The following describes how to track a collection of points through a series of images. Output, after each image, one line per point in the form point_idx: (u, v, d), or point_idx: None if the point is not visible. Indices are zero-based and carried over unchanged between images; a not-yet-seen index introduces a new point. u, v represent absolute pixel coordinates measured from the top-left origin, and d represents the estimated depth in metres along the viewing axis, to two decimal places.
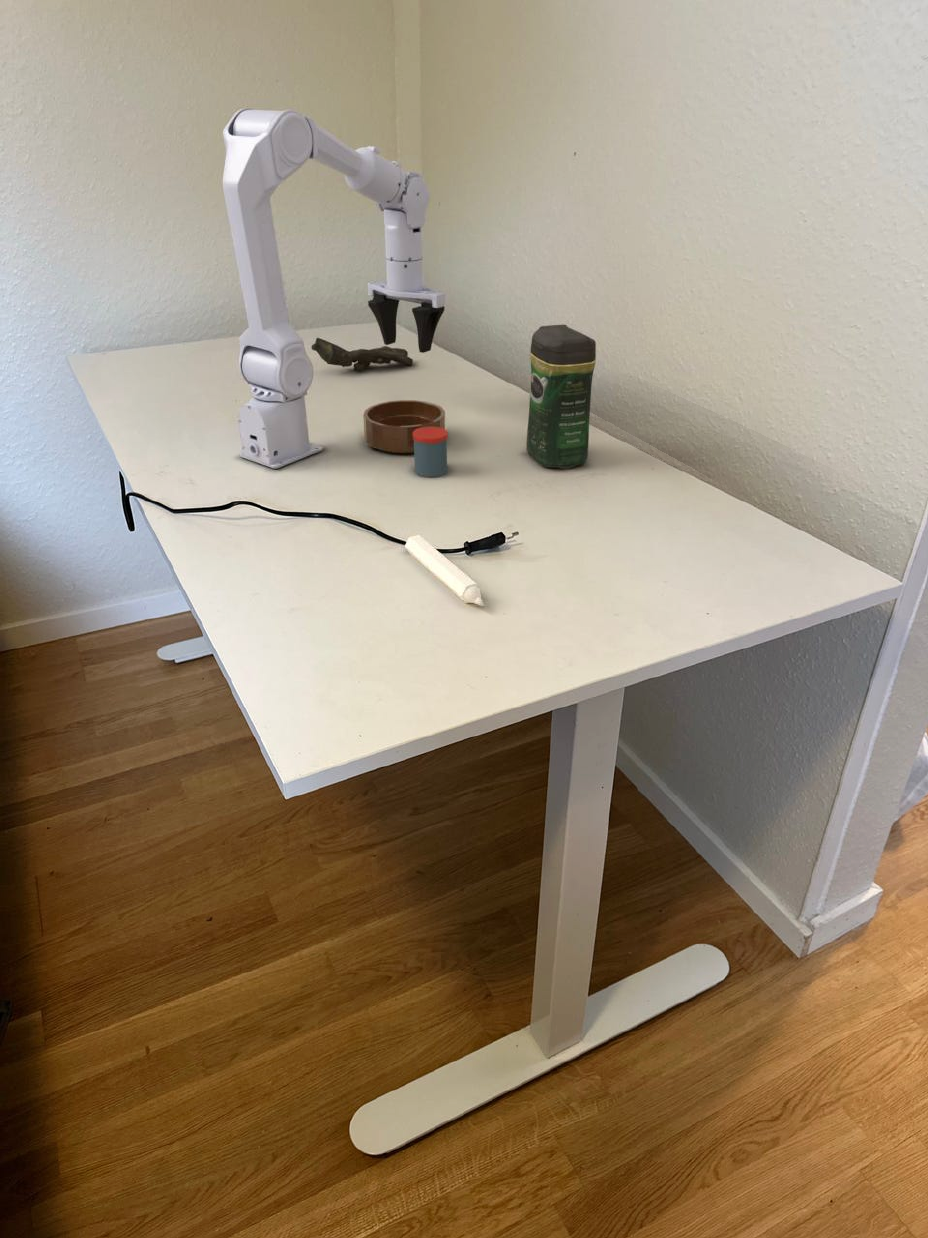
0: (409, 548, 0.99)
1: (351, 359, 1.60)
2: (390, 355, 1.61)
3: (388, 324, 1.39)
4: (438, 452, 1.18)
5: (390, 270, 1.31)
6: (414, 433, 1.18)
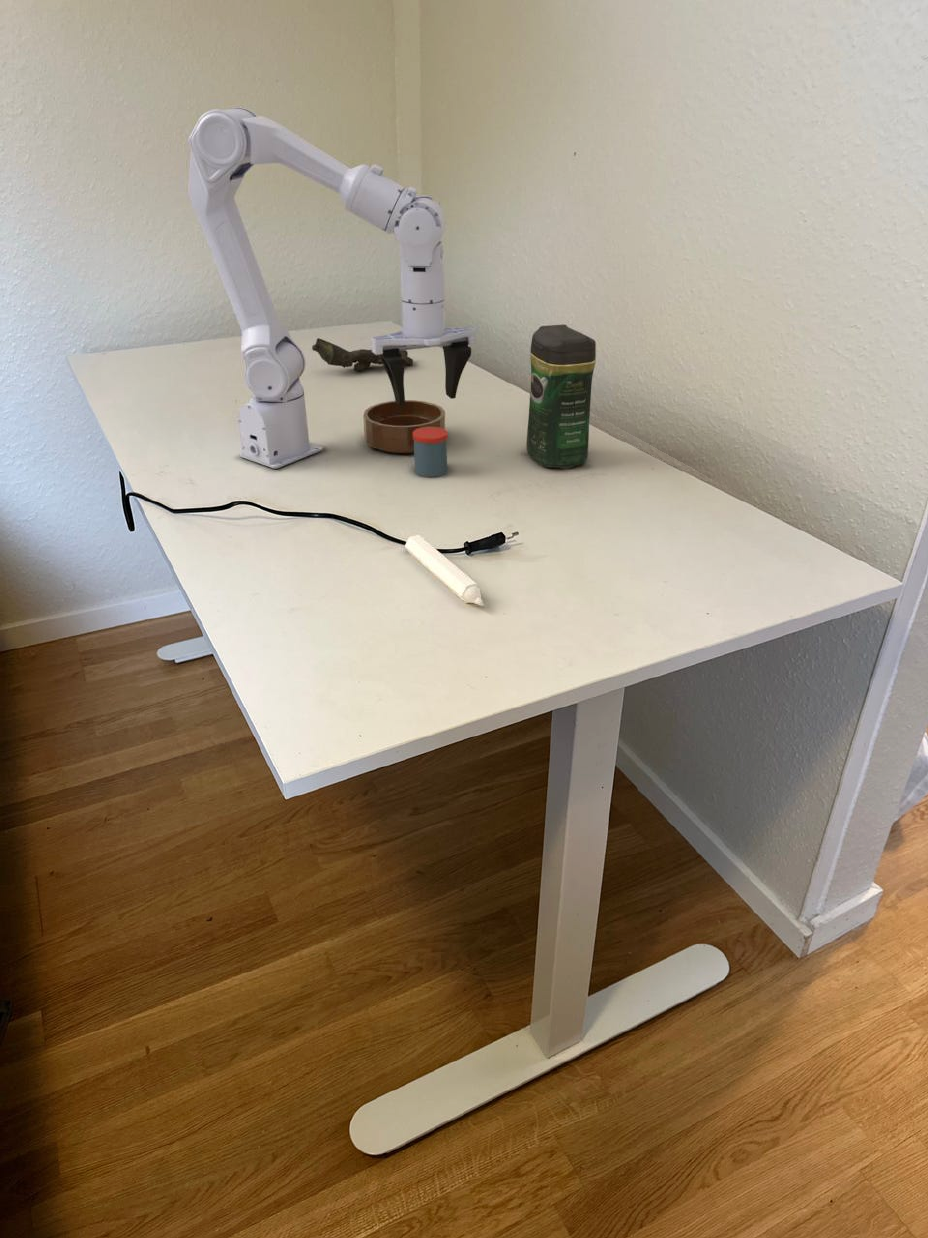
0: (409, 548, 0.99)
1: (352, 359, 1.60)
2: None
3: (448, 374, 1.21)
4: (438, 452, 1.18)
5: None
6: (414, 433, 1.18)
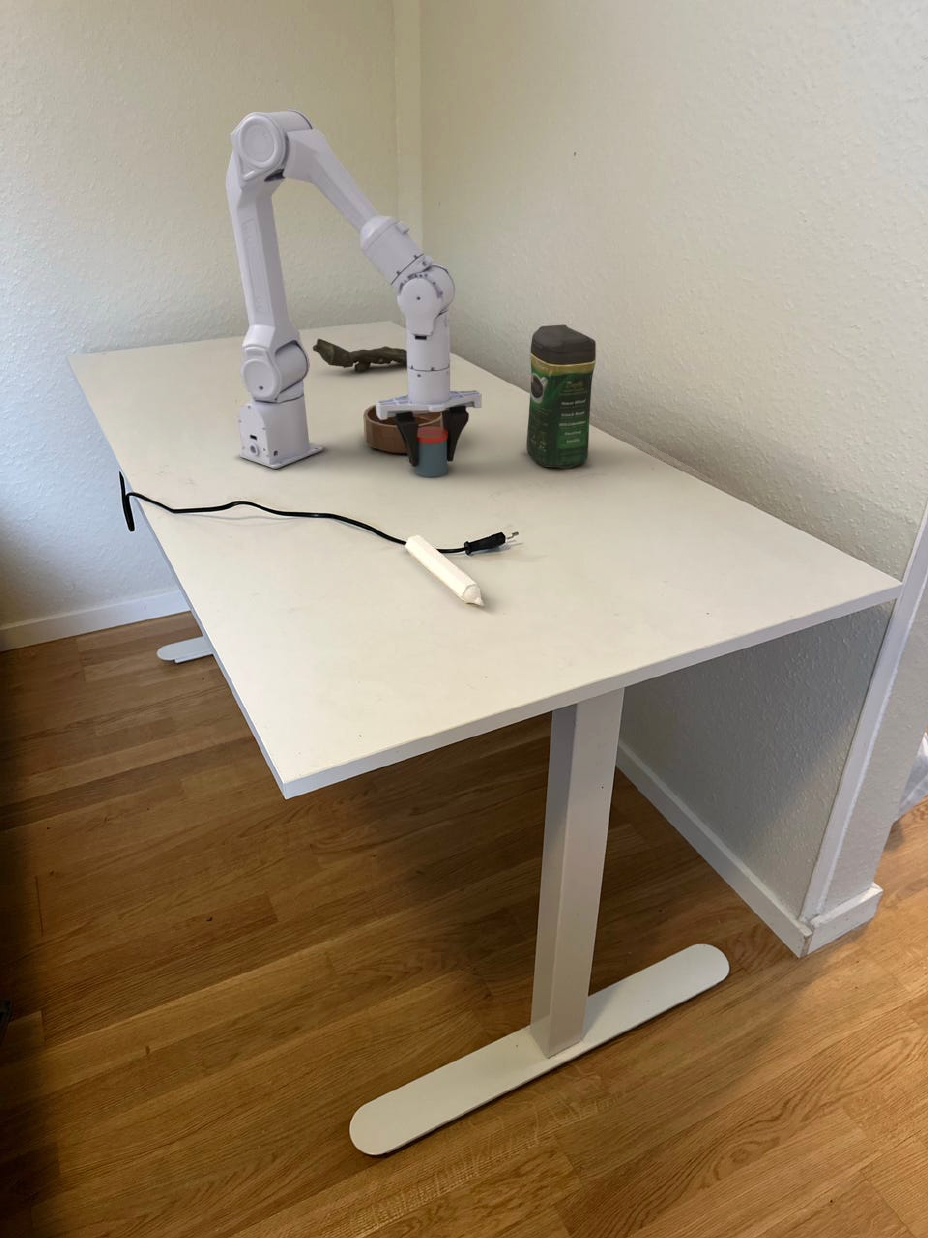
0: (409, 548, 0.99)
1: (352, 360, 1.59)
2: (391, 355, 1.61)
3: None
4: (438, 452, 1.18)
5: None
6: None
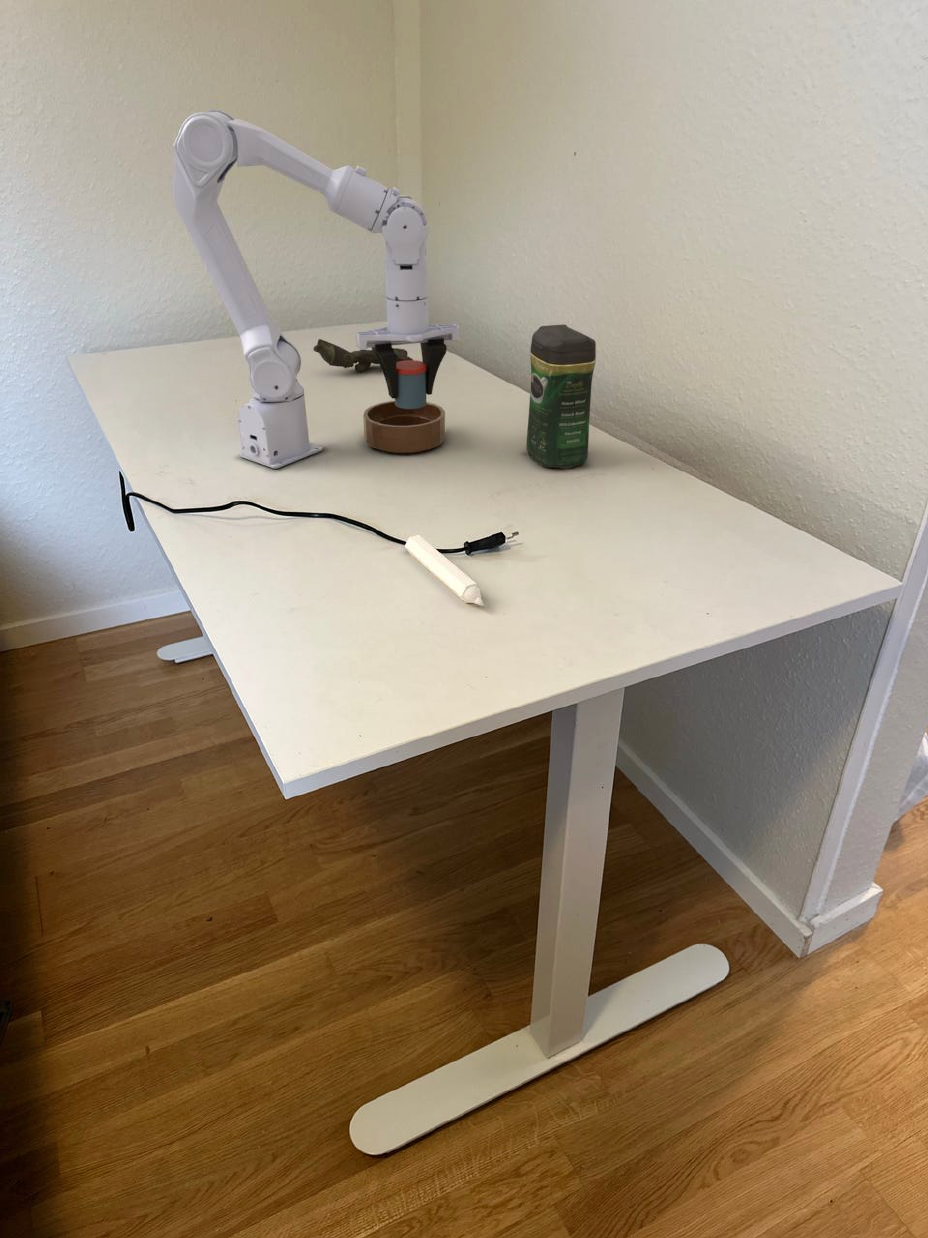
0: (409, 548, 0.99)
1: (353, 360, 1.59)
2: None
3: None
4: (417, 383, 1.21)
5: None
6: None
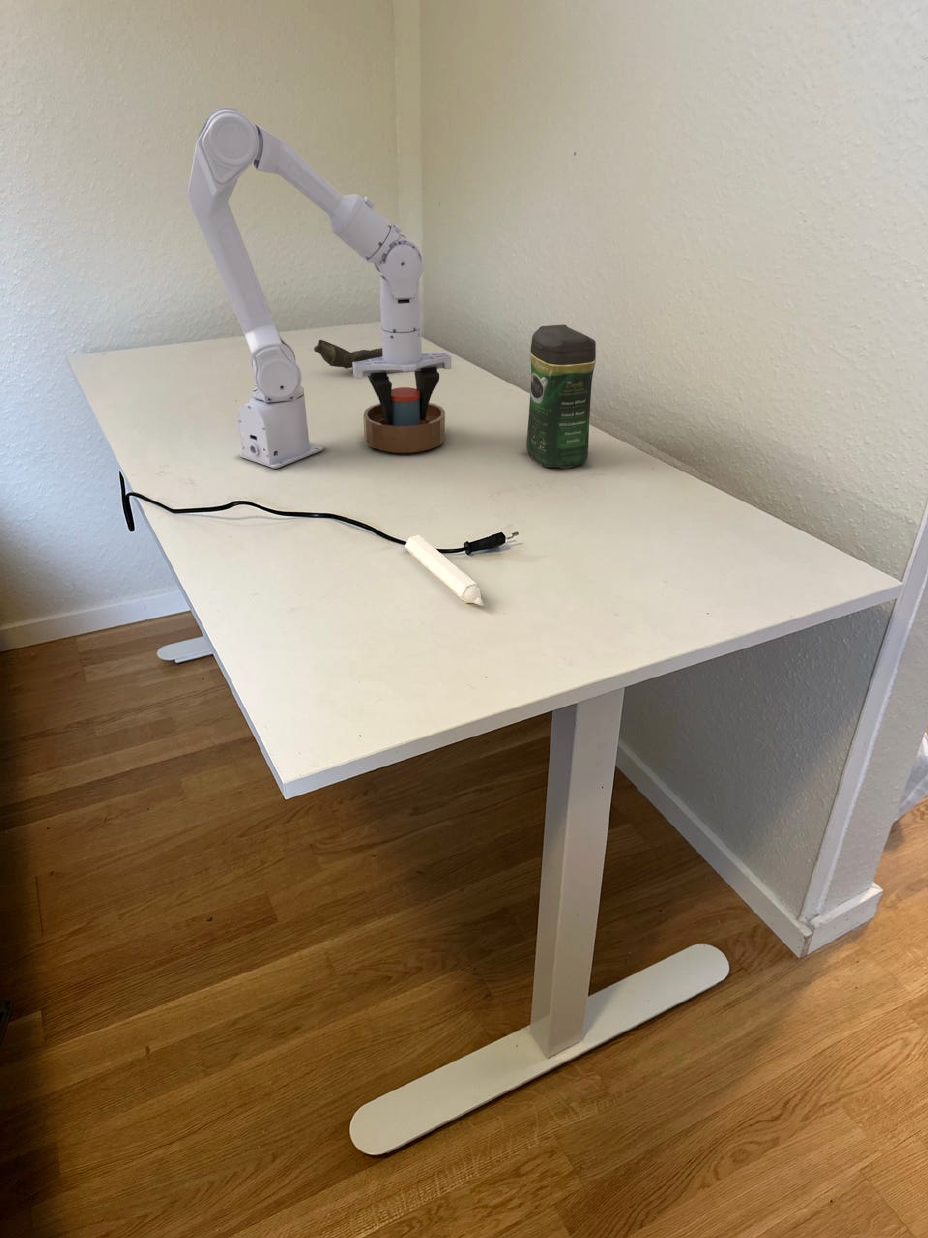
0: (409, 548, 0.99)
1: (353, 360, 1.59)
2: None
3: None
4: (411, 410, 1.26)
5: None
6: None
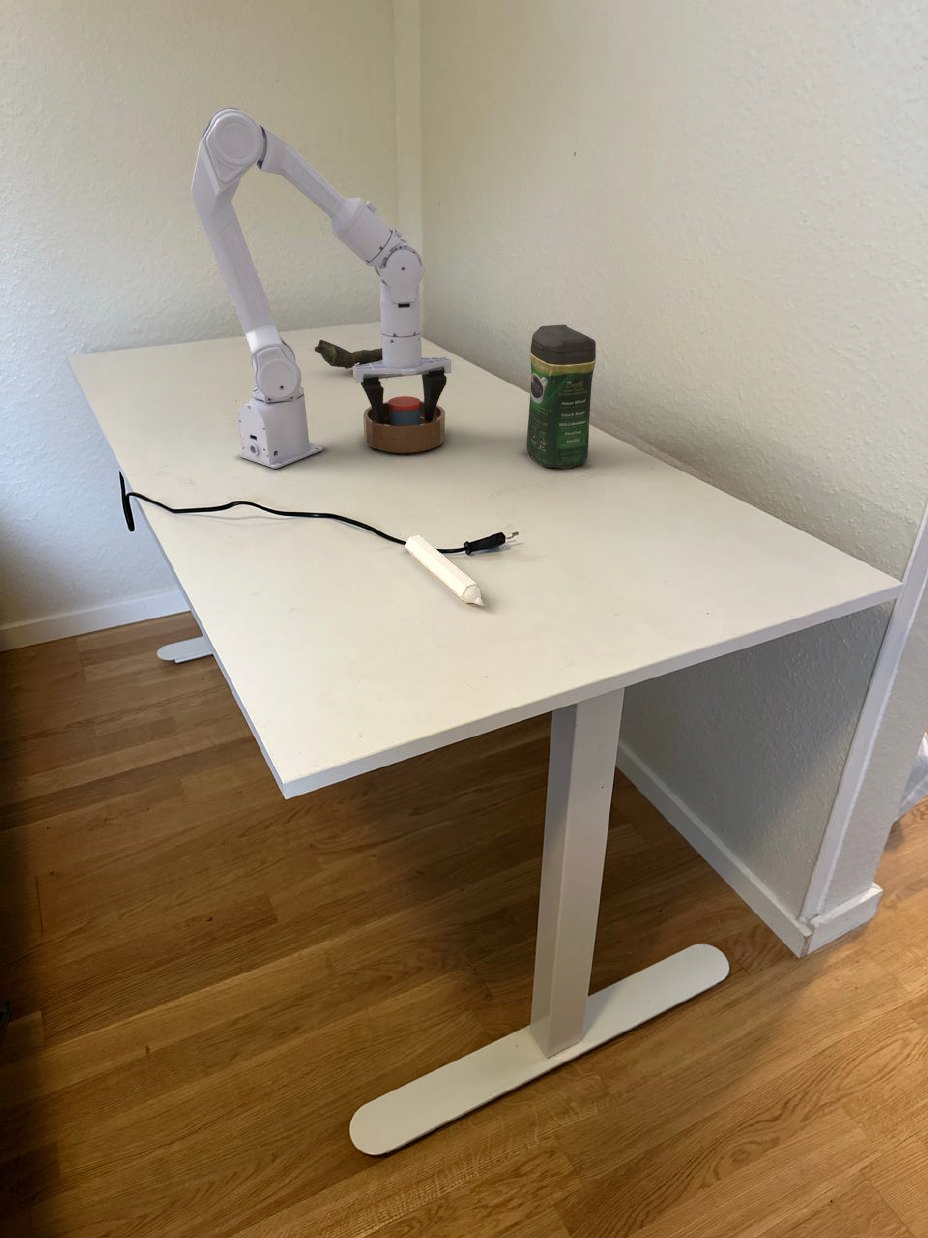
0: (409, 548, 0.99)
1: (354, 360, 1.59)
2: None
3: (426, 400, 1.29)
4: (412, 419, 1.27)
5: None
6: (389, 402, 1.27)
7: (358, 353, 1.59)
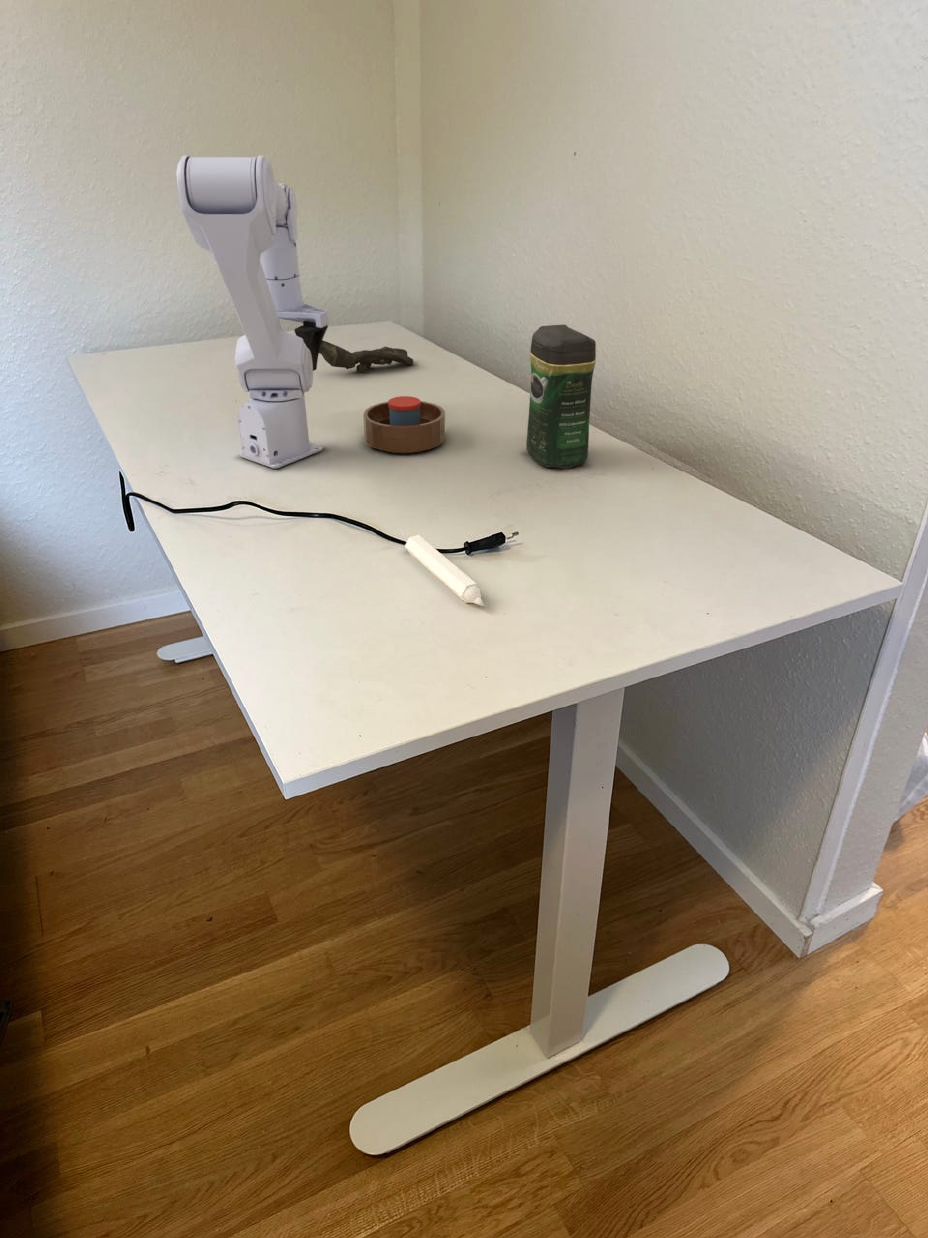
0: (409, 548, 0.99)
1: (354, 361, 1.59)
2: (393, 355, 1.61)
3: None
4: (412, 419, 1.27)
5: None
6: (389, 402, 1.27)
7: (359, 353, 1.58)
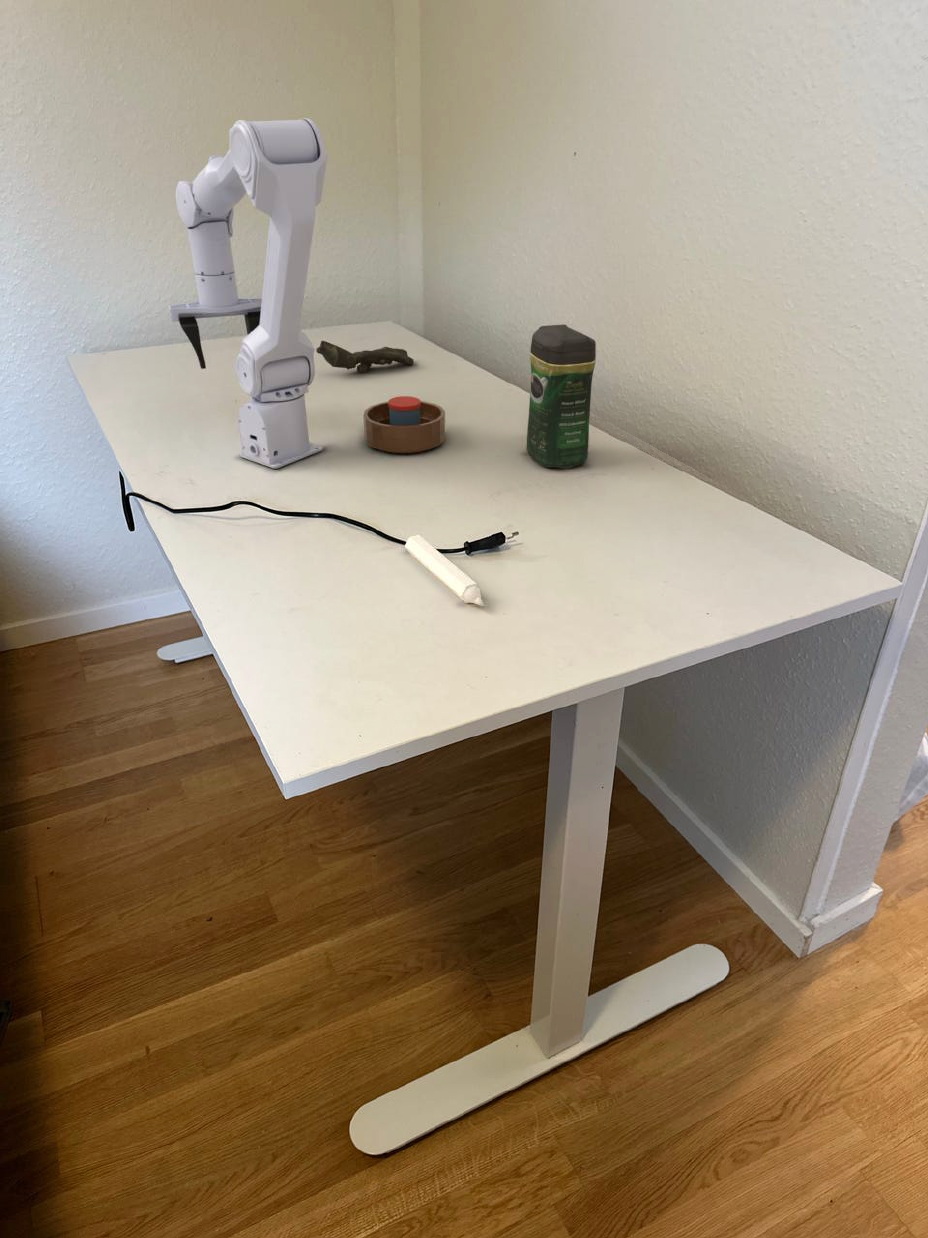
0: (409, 548, 0.99)
1: (355, 361, 1.59)
2: (393, 355, 1.61)
3: None
4: (412, 419, 1.27)
5: (214, 286, 1.24)
6: (389, 402, 1.27)
7: (359, 354, 1.58)
